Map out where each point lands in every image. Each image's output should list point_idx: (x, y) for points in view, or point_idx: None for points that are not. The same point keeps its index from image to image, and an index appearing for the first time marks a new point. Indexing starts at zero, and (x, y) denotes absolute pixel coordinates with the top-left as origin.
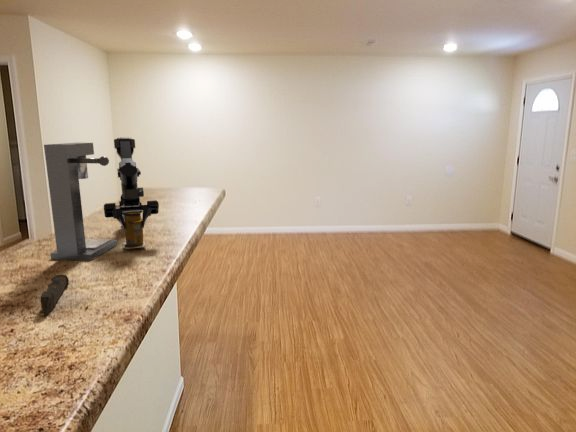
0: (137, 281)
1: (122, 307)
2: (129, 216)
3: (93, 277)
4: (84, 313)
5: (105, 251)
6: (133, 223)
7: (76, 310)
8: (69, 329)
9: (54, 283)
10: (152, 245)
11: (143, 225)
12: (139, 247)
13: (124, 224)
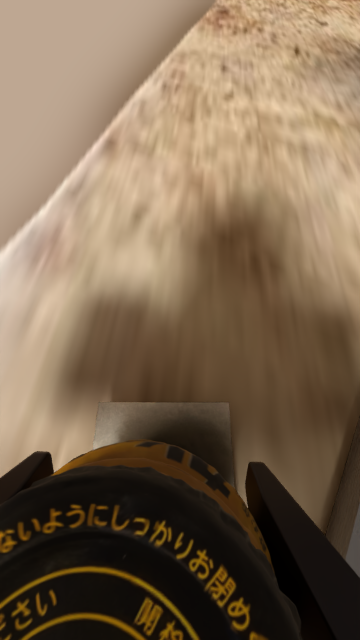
0: (195, 111)
1: (232, 37)
2: (202, 496)
3: (320, 168)
4: (296, 39)
5: (344, 477)
6: (147, 443)
7: (314, 50)
8: (308, 15)
9: None
10: None
11: (29, 457)
12: (142, 403)
13: (269, 500)
